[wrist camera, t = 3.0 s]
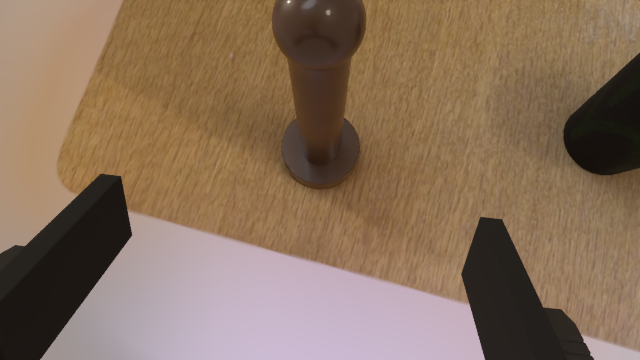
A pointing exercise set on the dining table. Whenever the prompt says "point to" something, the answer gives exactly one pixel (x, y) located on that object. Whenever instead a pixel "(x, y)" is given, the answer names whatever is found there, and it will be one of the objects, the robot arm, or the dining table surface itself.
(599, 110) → the cup
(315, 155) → the brown pepper mill
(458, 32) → the dining table surface
